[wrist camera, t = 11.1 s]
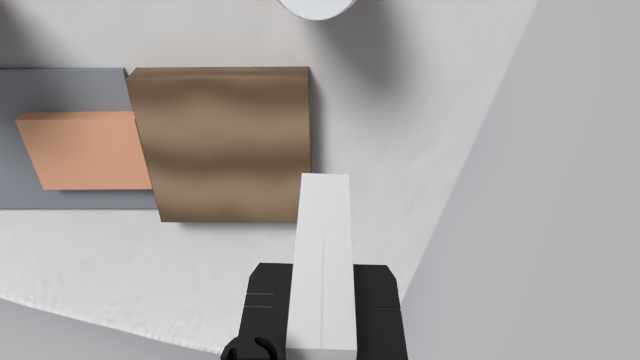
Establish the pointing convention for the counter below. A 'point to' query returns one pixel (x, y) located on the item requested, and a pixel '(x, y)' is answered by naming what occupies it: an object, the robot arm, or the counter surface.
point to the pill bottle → (317, 8)
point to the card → (85, 150)
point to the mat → (58, 96)
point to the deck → (224, 140)
